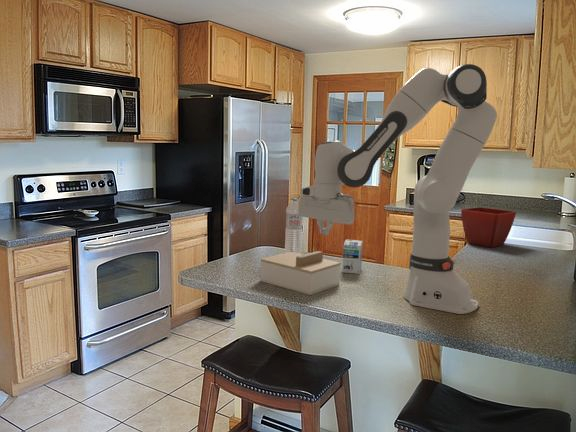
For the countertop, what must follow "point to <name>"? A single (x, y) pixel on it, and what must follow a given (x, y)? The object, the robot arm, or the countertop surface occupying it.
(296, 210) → the water bottle
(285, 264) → the tan box lid
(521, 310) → the countertop surface
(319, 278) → the base
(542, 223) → the countertop surface
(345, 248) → the light bulb box
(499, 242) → the plant pot
